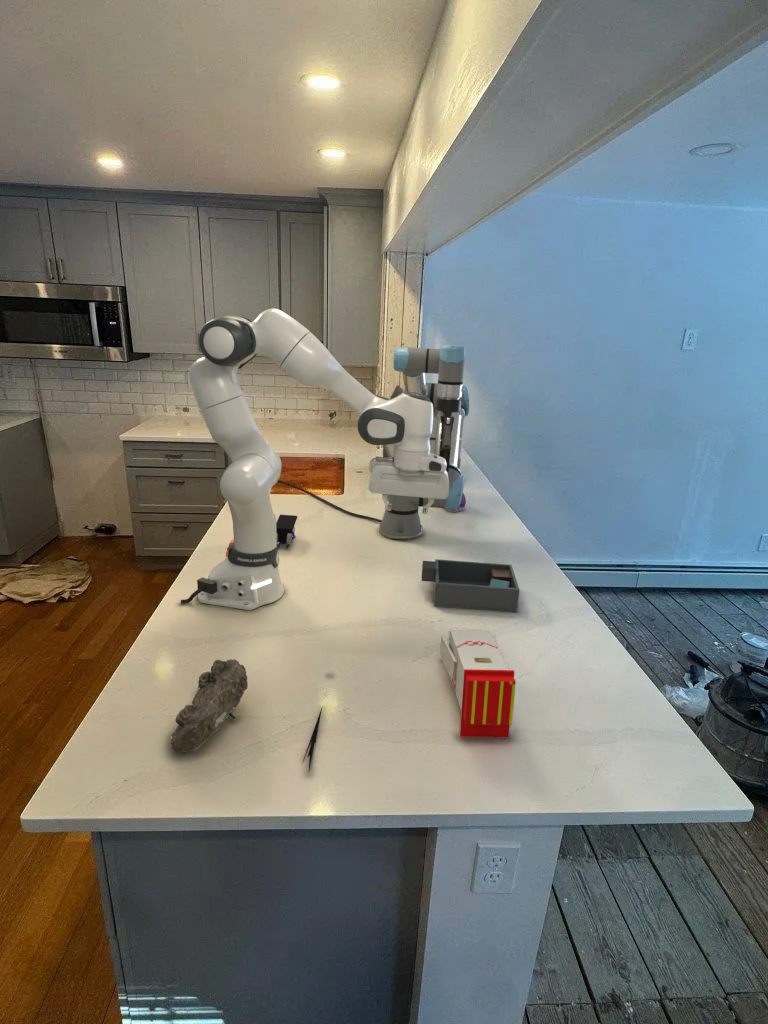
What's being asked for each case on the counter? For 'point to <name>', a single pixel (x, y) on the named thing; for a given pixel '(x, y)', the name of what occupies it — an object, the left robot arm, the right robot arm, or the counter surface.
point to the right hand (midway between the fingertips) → (443, 465)
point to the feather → (313, 740)
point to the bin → (470, 585)
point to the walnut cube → (500, 575)
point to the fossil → (210, 704)
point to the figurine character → (285, 529)
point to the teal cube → (499, 583)
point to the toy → (479, 682)
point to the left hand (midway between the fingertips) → (406, 511)
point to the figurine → (462, 505)
